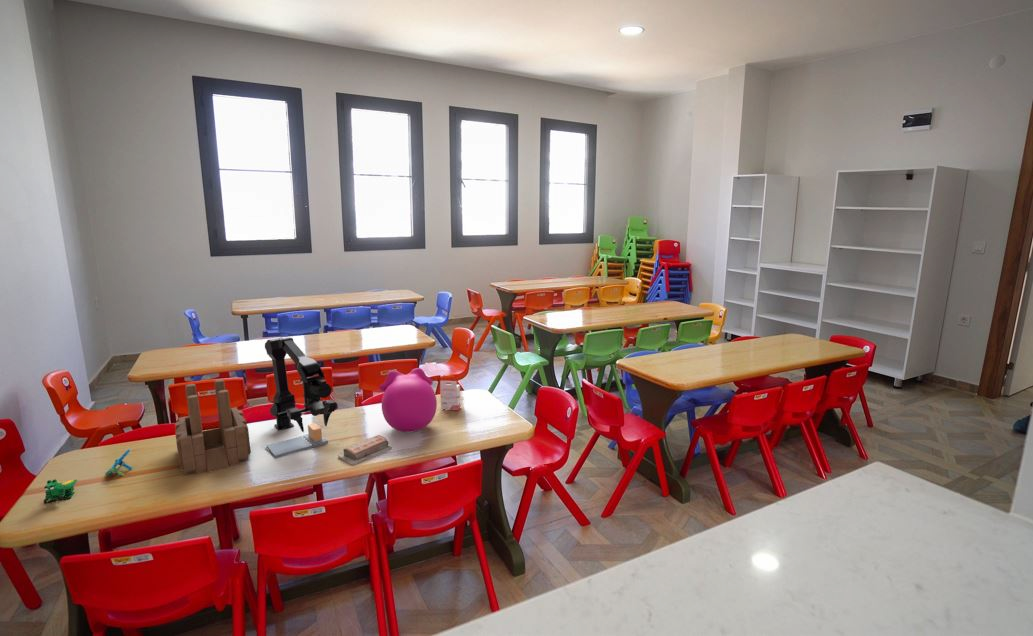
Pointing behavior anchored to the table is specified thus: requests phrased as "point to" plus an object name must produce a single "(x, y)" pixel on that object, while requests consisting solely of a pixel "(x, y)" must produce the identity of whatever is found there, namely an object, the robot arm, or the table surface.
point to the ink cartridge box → (450, 395)
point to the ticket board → (289, 446)
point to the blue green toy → (121, 463)
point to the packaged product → (365, 450)
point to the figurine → (408, 400)
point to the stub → (315, 435)
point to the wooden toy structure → (211, 435)
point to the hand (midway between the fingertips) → (314, 428)
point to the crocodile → (58, 490)
